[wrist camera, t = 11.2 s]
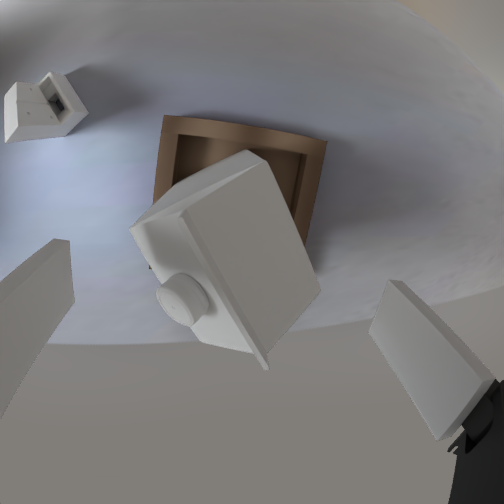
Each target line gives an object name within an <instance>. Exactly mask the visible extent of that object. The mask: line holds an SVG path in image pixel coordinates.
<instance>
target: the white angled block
mask: <svg viewBox="0 0 504 504" xmlns="http://www.w3.org/2000/svg"><path fill="white" fill-rule="evenodd" d="M58 98H59V100H60V102H61V103H62V105H63V106H64V108H65V109H64V110H63V111H62V112H61V111H60V109H59V107H58V106H57V104H56V100H57V99H58ZM88 114H89V112H88V111H87V109H86V108H85V106H84V105H83V103H82V102H81V100H80V98H79V97H78V95H77V94H76V92H75V91H74V89H73V87H72V86H71V84H70V83H69V81H68V80H67V78H66V76H65V75H62V74H59V73H55V72H51V71H50V72H49V73H48V74H47V75H46V76H45V77H44V78H43V79H42V80H41V81H40V82H39V83H38V84H33V83H26V82H20V81H16V82H15V83H14V85H13V86H12V87H11V88H10V90H9V91H8V92H7V93H6V95H5V96H4V130H5V143H11V142H19V141H27V140H35V139H45V138H56V137H65V136H66V135H67V134H68V133H69V132H70V131H71V130H72V129H73V128H74V127H75V126H76V125H77V124H78V123H79V122H80V121H81V120H82V119H83V118H84V117H86V116H87V115H88Z"/></svg>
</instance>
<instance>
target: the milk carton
mask: <svg viewBox="0 0 504 504" xmlns="http://www.w3.org/2000/svg"><path fill="white" fill-rule="evenodd" d="M129 229H130V232H131V234H132V236H133V237H134V239H135V241H136V243H137V245H138V246H139V248H140V250H141V252H142V253H143V255H144V257H145V258H146V260H147V262H148V263H149V265H150V267H151V268H152V270H153V271H154V273H155V275H156V276H157V278H158V279H159V281H160V283H161V284H162V285H161V286H160V287H158V289H157V291H156V296H157V299H158V301H159V303H160V304H161V306H162V308H163V309H164V310H165V311H166V313H167V314H168V315H169V316H170V317H171V318H172V319H173V320H175V321H176V322H178V323H180V324H182V325H185V326H189V327H190V328H191V329H192V331H193V332H194V334H195V335H196V336H197V338H198V339H199V340H200V341H201V342H203V343H207V344H211V345H216V346H221V347H225V348H230V349H234V350H239V351H244V352H249V353H254V355H255V356H256V358H257V359H258V361H259V362H260V364H261V366H262V367H263V369H264V370H269V369H270V368H269V363H268V358H267V353H268V352H269V351H270V350H271V349H272V348H273V346H274V345H275V344H276V343H277V342H278V341H279V340H280V338H281V337H282V336H283V335H284V334H285V333H286V332H287V331H288V329H289V328H290V327H291V326H292V325H293V324H294V322H295V321H296V320H297V319H298V318H299V317H300V315H301V314H302V313H303V312H304V311H305V310H306V308H307V307H308V306H309V305H310V304H311V302H312V301H313V300H314V299H315V298H316V296H317V295H318V294H319V293H320V291H321V289H320V285H319V283H318V280H317V277H316V275H315V272H314V270H313V267H312V265H311V262H310V260H309V257H308V255H307V252H306V250H305V247H304V245H303V242H302V240H301V238H300V235H299V233H298V230H297V228H296V226H295V223H294V221H293V219H292V216H291V214H290V211H289V209H288V207H287V204H286V202H285V200H284V198H283V195H282V193H281V191H280V188H279V186H278V184H277V182H276V179H275V177H274V175H273V173H272V171H271V168H270V166H269V165H268V163H267V161H266V160H263V159H262V158H260V157H259V156H257V155H255V154H254V153H252V152H250V151H249V150H247V149H245V150H242V151H240V152H238V153H236V154H234V155H231V156H229V157H227V158H225V159H223V160H221V161H219V162H217V163H215V164H213V165H210V166H208V167H206V168H204V169H202V170H200V171H198V172H196V173H194V174H192V175H190V176H188V177H186V178H184V179H183V180H181V181H179V182H177V183H176V184H175V185H174V186H173V187H172V188H171V189H170V190H168V191H167V192H166V193H165V194H164V195H163V196H162V197H161V198H160V199H159V200H158V201H157V202H156V203H155V204H154V205H153V206H151V207H150V208H149V209H148V210H147V211H146V212H145V213H144V214H143V215H142V216H141V217H140V218H139V219H138V220H137V221H136V222H135V223H134V224H133V225H132V226H131V227H130V228H129Z"/></svg>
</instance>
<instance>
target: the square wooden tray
mask: <svg viewBox="0 0 504 504" xmlns="http://www.w3.org/2000/svg"><path fill="white" fill-rule="evenodd" d="M326 145H327V141H323V140H319V139H315V138H310V137H306V136H301V135H297V134H292V133H287V132H282V131H277V130H272V129H266V128H261V127H255V126H249V125H243V124H237V123H230V122H223V121H215V120H207V119H199V118H190V117H180V116H169V115H164V117H163V124H162V130H161V137H160V144H159V152H158V160H157V168H156V177H155V187H154V197H153V205H154V204H155V203H156V202H157V201H158V200H159V199H160V198H161V197H162V196H163V195H164V194H165V193H166V192H167V191H168V190H170V189H171V188H172V187H173V186H174V185H175V184H176V183H177V182H179V181H181V180H183V179H184V178H186V177H188V176H190V175H192V174H194V173H196V172H198V171H200V170H202V169H204V168H206V167H208V166H210V165H213V164H215V163H217V162H219V161H221V160H223V159H225V158H227V157H229V156H231V155H234V154H236V153H238V152H240V151H242V150H245V149H247V150H249V151H250V152H252V153H254V154H255V155H257V156H259V157H260V158H262V159H263V160H266V161H267V163H268V165H269V166H270V168H271V171H272V173H273V175H274V177H275V179H276V182H277V184H278V186H279V188H280V191H281V193H282V195H283V198H284V200H285V202H286V204H287V207H288V209H289V211H290V214H291V216H292V219H293V221H294V223H295V226H296V228H297V230H298V233H299V235H300V238H301V240H302V242H303V245H304V246H305V242H306V238H307V233H308V229H309V225H310V220H311V216H312V212H313V207H314V203H315V198H316V193H317V189H318V184H319V179H320V174H321V170H322V165H323V160H324V155H325V150H326ZM149 269H152V268H151V267H150V265H149Z"/></svg>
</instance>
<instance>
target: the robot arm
mask: <svg viewBox="0 0 504 504" xmlns="http://www.w3.org/2000/svg"><path fill="white" fill-rule="evenodd" d="M74 302H75V299H74V291H73V281H72V270H71V256H70V241H68V240H61V239H53V240H51V241H50V242H49V243H47V244H46V245H45V246H44V247H42V248H41V249H40V250H38V251H37V252H36V253H34V254H33V255H32V256H31V257H29V258H28V259H27V260H26V261H24V262H23V263H22V264H21V265H20V266H18V267H17V268H16V269H15V270H14V271H12V272H11V273H10V274H9V275H8V276H6V277H5V278H4V279H3V280H2V281H1V282H0V418H2V416H3V414H4V412H5V411H6V409H7V407H8V405H9V403H10V401H11V400H12V398H13V396H14V394H15V392H16V391H17V389H18V387H19V386H20V384H21V382H22V380H23V379H24V377H25V375H26V374H27V372H28V371H29V369H30V367H31V366H32V364H33V363H34V361H35V359H36V358H37V356H38V355H39V353H40V352H41V350H42V348H43V347H44V345H45V344H46V342H47V341H48V339H49V338H50V336H51V335H52V333H53V332H54V331H55V329H56V328H57V326H58V325H59V323H60V322H61V320H62V319H63V318H64V316H65V315H66V313H67V312H68V311H69V309H70V308H71V306H72V305H73V304H74ZM368 333H369V334H370V336H371V337H372V339H373V340H374V342H375V343H376V345H377V346H378V348H379V349H380V351H381V352H382V354H383V355H384V357H385V358H386V360H387V362H388V363H389V365H390V366H391V368H392V369H393V371H394V372H395V374H396V375H397V377H398V379H399V380H400V382H401V383H402V385H403V387H404V388H405V390H406V391H407V393H408V395H409V396H410V398H411V399H412V401H413V403H414V404H415V406H416V407H417V409H418V411H419V412H420V414H421V416H422V417H423V419H424V421H425V422H426V424H427V426H428V427H429V429H430V431H431V432H432V434H433V436H434V437H435V439H436V441H440V440H443V439H446V438H448V437H451V436H452V435H453V434H454V433H455V432H456V430H457V429H458V428H459V427H460V426H461V425H462V426H463V428H464V429H465V430H464V431H463V432H462V433H461V435H460V436H459V437H458V438H457V439H456V440H455V441H454V443H453V444H452V445H451V446H450V447H449V448H448V452H450V451H451V450H452V449H453V448H454V447H455V446H458V448H457V449H456V450H455V451H454V452H453V453H454V454H456V455H457V460H456V466H455V473H454V478H453V484H452V489H451V494H450V498H449V503H448V504H504V380H502V381H501V382H500V383H499V382H498V381H497V380H496V379H495V378H496V377H495V376H494V375H493V374H492V373H491V372H490V370H489V369H488V368H487V367H486V366H485V365H484V364H483V363H482V361H481V360H480V359H479V358H478V357H477V356H476V355H475V354H474V353H473V352H472V351H471V349H470V348H469V347H468V346H467V345H466V344H465V343H464V342H463V341H462V340H461V339H460V338H459V337H458V336H457V335H456V334H455V333H454V332H453V330H451V328H450V327H449V326H447V324H446V323H445V322H444V321H442V319H441V318H440V317H439V316H438V315H437V314H436V313H435V312H434V311H433V310H432V309H431V308H430V307H429V306H428V305H427V304H425V303H424V302H423V301H422V300H421V299H420V298H419V297H418V296H417V295H416V294H415V293H414V292H413V291H412V290H411V289H410V288H409V287H408V286H407V285H406V284H405V283H403V282H402V281H397V280H388V283H387V285H386V288H385V291H384V293H383V296H382V299H381V301H380V304H379V307H378V309H377V312H376V314H375V317H374V319H373V322H372V324H371V327H370V329H369V331H368Z"/></svg>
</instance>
